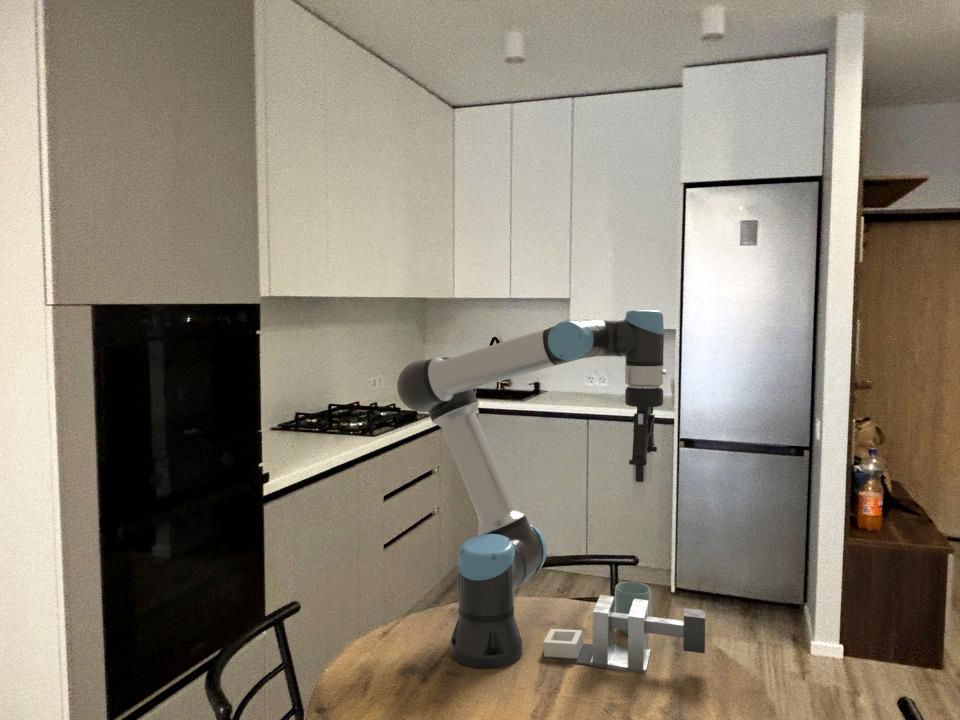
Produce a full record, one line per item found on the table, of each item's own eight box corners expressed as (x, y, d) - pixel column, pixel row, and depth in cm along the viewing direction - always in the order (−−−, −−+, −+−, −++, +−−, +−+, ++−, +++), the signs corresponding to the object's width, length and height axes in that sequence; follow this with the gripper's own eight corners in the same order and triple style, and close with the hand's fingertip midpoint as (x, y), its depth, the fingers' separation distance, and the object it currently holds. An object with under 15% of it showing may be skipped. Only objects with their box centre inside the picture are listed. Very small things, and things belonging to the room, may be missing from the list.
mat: (560, 661, 149) (560, 659, 149) (569, 642, 157) (569, 641, 157) (590, 665, 147) (590, 664, 147) (597, 646, 156) (597, 645, 156)
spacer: (577, 658, 149) (544, 656, 151) (583, 644, 155) (551, 642, 158) (576, 644, 149) (543, 642, 151) (582, 630, 155) (550, 628, 158)
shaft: (596, 639, 149) (597, 605, 148) (599, 631, 153) (600, 598, 152) (704, 653, 142) (705, 618, 142) (705, 644, 146) (705, 610, 146)
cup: (650, 640, 158) (651, 595, 158) (614, 637, 160) (614, 592, 159) (649, 625, 166) (650, 582, 165) (615, 623, 168) (615, 580, 167)
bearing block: (590, 665, 147) (590, 611, 146) (597, 646, 156) (597, 594, 155) (645, 674, 143) (646, 618, 143) (650, 653, 152) (650, 600, 152)
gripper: (658, 392, 135) (657, 506, 136) (667, 381, 159) (666, 478, 160) (617, 391, 138) (616, 503, 139) (632, 380, 161) (631, 476, 162)
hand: (643, 490), depth 149 cm, fingers open, 13 cm apart
